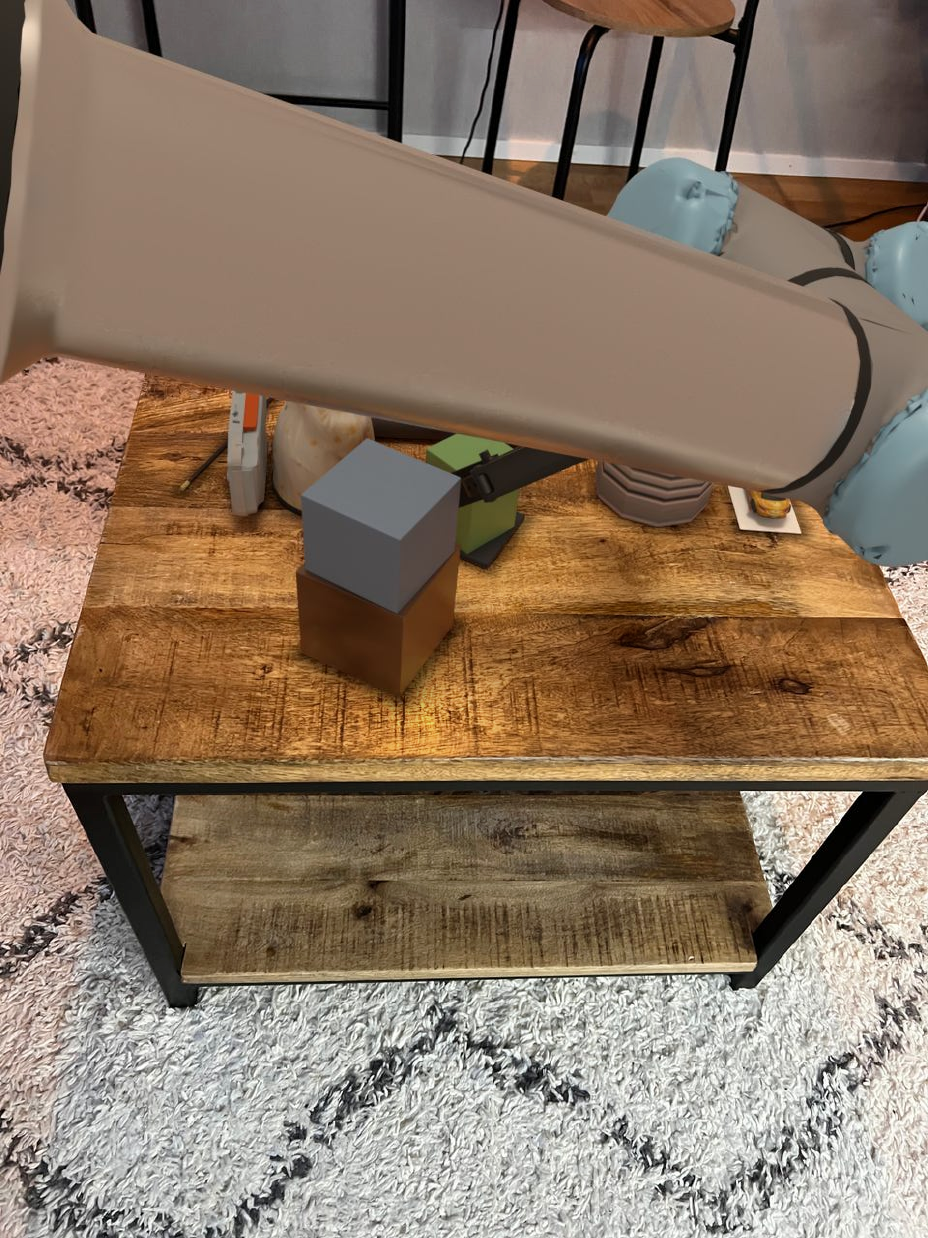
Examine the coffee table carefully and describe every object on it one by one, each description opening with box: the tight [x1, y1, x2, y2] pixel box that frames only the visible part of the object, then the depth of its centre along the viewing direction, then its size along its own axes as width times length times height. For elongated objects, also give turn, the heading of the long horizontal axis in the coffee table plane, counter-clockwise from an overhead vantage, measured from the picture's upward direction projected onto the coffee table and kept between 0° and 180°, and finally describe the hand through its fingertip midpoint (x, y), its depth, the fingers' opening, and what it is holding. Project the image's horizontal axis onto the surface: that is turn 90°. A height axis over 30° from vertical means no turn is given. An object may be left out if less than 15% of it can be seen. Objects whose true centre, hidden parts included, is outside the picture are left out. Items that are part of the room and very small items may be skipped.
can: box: [594, 461, 715, 528], centre depth 89 cm, size 11×11×12 cm
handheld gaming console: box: [226, 390, 268, 517], centre depth 87 cm, size 14×3×8 cm, turn 6°
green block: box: [425, 434, 521, 554], centre depth 84 cm, size 6×6×8 cm
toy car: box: [727, 486, 802, 534], centre depth 93 cm, size 4×8×2 cm, turn 179°
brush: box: [179, 397, 274, 492], centre depth 96 cm, size 1×1×25 cm
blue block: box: [301, 438, 461, 614], centre depth 68 cm, size 8×8×7 cm
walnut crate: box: [295, 543, 461, 699], centre depth 74 cm, size 9×9×9 cm
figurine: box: [270, 401, 376, 517], centre depth 84 cm, size 12×10×20 cm
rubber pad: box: [459, 511, 526, 570], centre depth 87 cm, size 8×8×1 cm
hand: (514, 458), depth 78 cm, fingers open, 13 cm apart
